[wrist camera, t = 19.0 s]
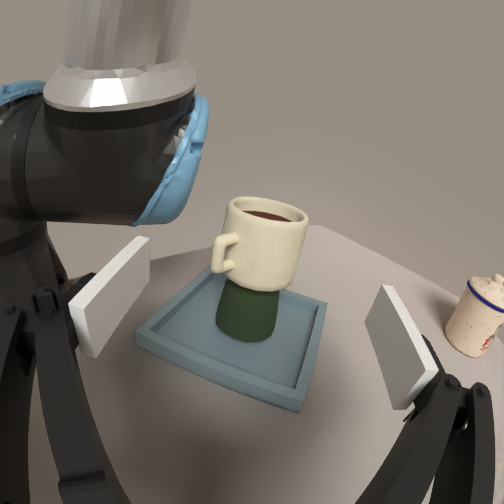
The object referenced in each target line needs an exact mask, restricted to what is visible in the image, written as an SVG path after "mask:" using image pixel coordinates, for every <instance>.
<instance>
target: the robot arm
mask: <svg viewBox="0 0 504 504" xmlns="http://www.w3.org/2000/svg"><path fill="white" fill-rule="evenodd" d="M193 2H194V0H67V6H66V13H65V23H64V37H63V56H62V63H61V65H60V67H59V68H58V69H57V71H56V72H55V73H54V74H53V75H52V76H51V78H50V79H49V80H48V82H45V81H39V80H28V81H19V82H14V83H12V84H8V85H0V504H30V492H29V478H28V428H29V414H30V403H31V394H32V387H33V380H34V373H35V367H36V363H37V373H38V382H39V390H40V397H41V403H42V409H43V414H44V419H45V424H46V429H47V433H48V437H49V441H50V445H51V449H52V453H53V456H54V460H55V463H56V466H57V470H58V473H59V476H60V481H59V483H58V489H59V492H60V496H61V498H62V501H63V503H64V504H131V502H130V500H129V499H128V497H127V496H126V494H125V493H124V491H123V489H122V487H121V485H120V483H119V481H118V479H117V477H116V475H115V472H114V470H113V468H112V466H111V463H110V461H109V459H108V456H107V454H106V452H105V449H104V447H103V444H102V442H101V439H100V436H99V434H98V431H97V428H96V425H95V422H94V419H93V416H92V413H91V410H90V407H89V404H88V400H87V397H86V393H85V390H84V386H83V382H82V379H81V375H80V371H79V366H78V362H77V357H76V353H75V349H76V347H77V346H78V345H79V347H80V350H81V353H82V354H84V355H87V356H89V357H91V358H94V359H96V358H97V357H98V355H99V354H100V352H101V350H102V349H103V347H104V346H105V344H106V343H107V341H108V340H109V338H110V337H111V335H112V334H113V332H114V331H115V329H116V328H117V326H118V325H119V323H120V322H121V320H122V319H123V317H124V316H125V315H126V313H127V312H128V310H129V309H130V307H131V306H132V304H133V303H134V302H135V300H136V299H137V297H138V296H139V295H140V293H141V292H142V290H143V289H144V288H145V286H146V285H147V283H148V282H149V281H150V238H147V237H143V236H137V237H135V239H133V240H132V241H131V242H130V243H129V244H128V245H127V246H126V247H125V248H123V249H122V250H121V251H120V252H119V253H118V254H117V255H116V256H115V257H114V258H113V259H112V260H111V261H110V262H109V263H108V264H107V265H106V266H105V267H103V268H102V270H100V271H99V272H98V273H97V274H96V273H92V272H91V273H89V274H87V275H85V276H83V277H82V278H81V279H80V280H79V281H78V282H77V283H76V284H74V285H73V286H72V288H69V282H68V277H67V274H66V271H65V269H64V267H63V265H62V263H61V261H60V259H59V257H58V255H57V253H56V251H55V249H54V246H53V244H52V242H51V240H50V237H49V235H48V231H47V223H46V221H50V222H72V223H91V224H111V225H128V226H131V227H135V226H138V225H144V224H145V225H146V224H147V225H148V224H166V223H170V222H172V221H173V220H175V219H176V218H177V217H178V216H179V215H180V213H181V212H182V211H183V209H184V207H185V205H186V203H187V201H188V198H189V196H190V193H191V190H192V187H193V184H194V181H195V178H196V174H197V171H198V167H199V163H200V159H201V149H202V147H203V143H204V140H205V137H206V133H207V127H208V120H209V103H208V100H207V99H206V98H205V97H203V96H200V95H199V94H198V93H194V89H195V84H196V75H195V73H194V72H193V70H192V69H191V68H190V67H189V65H188V64H187V63H186V62H185V60H184V59H183V58H182V57H181V50H182V45H183V41H184V37H185V33H186V29H187V24H188V21H189V16H190V13H191V9H192V5H193ZM365 325H366V328H367V330H368V333H369V336H370V339H371V342H372V344H373V347H374V350H375V353H376V356H377V359H378V362H379V365H380V368H381V371H382V374H383V377H384V381H385V384H386V387H387V390H388V394H389V397H390V400H391V404H392V407H393V410H404V409H407V408H408V407H409V406H410V405H411V403H412V402H414V405H415V408H414V409H413V410H412V411H411V412H410V413H409V415H408V416H407V417H406V418H405V419H404V420H403V422H405V421H406V420H407V421H406V423H405V425H404V427H403V429H402V431H401V433H400V435H399V437H398V438H397V440H396V442H395V444H394V446H393V447H392V449H391V451H390V452H389V454H388V456H387V457H386V459H385V461H384V462H383V464H382V465H381V467H380V469H379V470H378V472H377V473H376V475H375V476H374V478H373V479H372V481H371V482H370V484H369V485H368V486H367V488H366V489H365V491H364V492H363V493H362V495H361V496H360V497H359V499H358V500H357V501H356V503H355V504H421V503H422V501H423V499H424V497H425V495H426V493H427V491H428V489H429V487H430V485H431V482H432V480H433V478H434V476H435V478H434V483H433V488H432V493H431V497H430V501H429V504H493V494H494V481H495V433H494V419H493V409H492V400H491V394H490V391H489V390H488V388H487V386H485V385H484V384H482V383H479V382H477V383H475V384H474V385H473V386H472V387H471V388H470V389H468V388H464V387H462V386H461V383H460V382H459V380H458V379H457V378H456V377H454V376H453V375H451V374H446V373H445V371H444V369H443V367H442V365H441V363H440V361H439V359H438V357H437V356H436V353H435V351H434V350H433V347H432V346H431V344H430V342H429V341H428V340H427V339H426V337H425V336H424V335H421V334H420V332H419V331H418V329H417V327H416V325H415V323H414V322H413V320H412V318H411V316H410V314H409V313H408V311H407V309H406V308H405V306H404V304H403V302H402V301H401V299H400V297H399V296H398V294H397V292H396V291H395V289H394V287H393V286H388V285H383V284H382V285H381V288H380V290H379V292H378V294H377V297H376V299H375V301H374V303H373V305H372V307H371V309H370V312H369V314H368V316H367V318H366V320H365ZM467 423H468V425H467V428H466V429H465V425H466V424H467Z"/></svg>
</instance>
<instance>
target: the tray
mask: <svg viewBox="0 0 504 504" xmlns="http://www.w3.org/2000/svg"><path fill="white" fill-rule="evenodd" d="M227 278H228V277H227V276H226V275H225V274H224V273H212V270H211V266H209V267H208V268H207V269H205V270H204V271H203V272H202V273H201V274H200V275H198V276H197V277H196V278H195V279H194V280H193V281H191V282H190V283H189V284H188V285H187V286H186V287H184V288H183V289H182V290H181V291H180V292H179V293H178V294H176V295H175V296H174V297H173V298H172V299H171V300H170V301H168V302H167V303H166V304H165V305H164V306H163V307H161V308H160V309H159V310H158V311H157V312H156V313H155V314H153V315H152V316H151V317H150V318H149V319H148V320H147V321H146V322H144V323H143V324H142V325H141V326H140V327H139V328H138V329H136V330H135V337H136V345H138V346H140V347H142V348H144V349H145V350H147V351H149V352H151V353H153V354H155V355H157V356H159V357H161V358H163V359H165V360H167V361H169V362H171V363H173V364H175V365H177V366H179V367H181V368H183V369H185V370H187V371H189V372H191V373H194V374H196V375H198V376H200V377H202V378H205V379H207V380H209V381H212V382H214V383H216V384H219V385H221V386H223V387H226V388H228V389H231V390H233V391H236V392H238V393H241V394H244V395H246V396H249V397H252V398H254V399H257V400H260V401H263V402H265V403H268V404H271V405H274V406H277V407H280V408H283V409H286V410H290V411H293V412H296V413H298V412H299V410H300V408H301V406H302V405H303V403H304V401H305V397H306V393H307V390H308V386H309V382H310V378H311V375H312V371H313V367H314V363H315V358H316V354H317V350H318V346H319V341H320V337H321V332H322V328H323V323H324V318H325V314H326V309H327V304H328V303H325V302H322V301H319V300H316V299H313V298H310V297H307V296H303V295H300V294H297V293H294V292H291V291H288V290H285V289H282V290H279V291H280V294H279V303H278V312H277V319H276V324H275V329H274V331H273V333H272V335H271V337H269V338H267V339H265V340H264V341H262V342H245V341H242V340H238V339H235V338H232V337H231V336H229V335H227V334H226V333H224V332H222V331H221V330H220V329H219V328H218V326H217V325H216V312H217V308H218V304H219V300H220V297H221V294H222V291H223V288H224V285H225V282H226V280H227Z"/></svg>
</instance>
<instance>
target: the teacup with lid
mask: <svg viewBox="0 0 504 504" xmlns="http://www.w3.org/2000/svg"><path fill="white" fill-rule="evenodd" d="M503 282H504V278H503V277H502V276H501V275H499V274H497V273H495V274H494V275H493V278H491V277H483V278H481V277H477V276H474V277H471V278H470V279H469V280H468V282H467V287H466V289H465V291H464V293H463V295H462V297H461V299H460V301H459V303H458V305H457V307H456V309H455V311H454V312H453V314H452V316H451V318H450V320H449V321H448V323H447V325H446V327H445V334H446V337H447V339H448V340H449V342H450V343H451V344H452V345H453V346H454V347H455V348H456V349H457V350H458V351H460V352H461V353H463V354H465V355H467V356H470V357H475V358H477V357H481V356H482V355H483V354H484V353H485V351H486V350H487V348H488V347H489V345H490V344H491V342H492V341H493V339H494V338H495V336H496V335H497V333H498V331H499V330H500V328H501V326H502V325H503V323H504V286H503V285H502V284H503Z"/></svg>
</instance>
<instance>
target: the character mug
mask: <svg viewBox="0 0 504 504" xmlns="http://www.w3.org/2000/svg"><path fill="white" fill-rule="evenodd" d="M308 221H309V217H308V215H307V214H306V213H305V212H304V211H302V210H300V209H298V208H296V207H294V206H292V205H288V204H286V203H283V202H279V201H275V200H271V199H266V198H259V197H236V198H232V199H231V200H230V201H229V202H228V205H227V208H226V215H225V221H224V225H223V228H222V235H219V236H217V237H215V239H214V242H213V247H212V255H211V263H210V266H211V270H212V273H224V274H225V275H226V276H227V277H228V278H227V280H226V282H225V285H224V288H223V291H222V294H221V297H220V300H219V304H218V308H217V312H216V325H217V326H218V328H219V329H220V330H221V331H222V332H224V333H226V334H227V335H229V336H231V337H232V338H235V339H238V340H242V341H245V342H262V341H264V340H265V339H267V338H269V337H271V335H272V333H273V331H274V329H275V324H276V319H277V312H278V303H279V294H280V291H279V290H282V289H285V288H286V287H287V286H288V285H290V284H291V282H292V280H293V278H294V275H295V271H296V268H297V264H298V260H299V257H300V253H301V249H302V246H303V242H304V238H305V234H306V231H307V227H308Z"/></svg>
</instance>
